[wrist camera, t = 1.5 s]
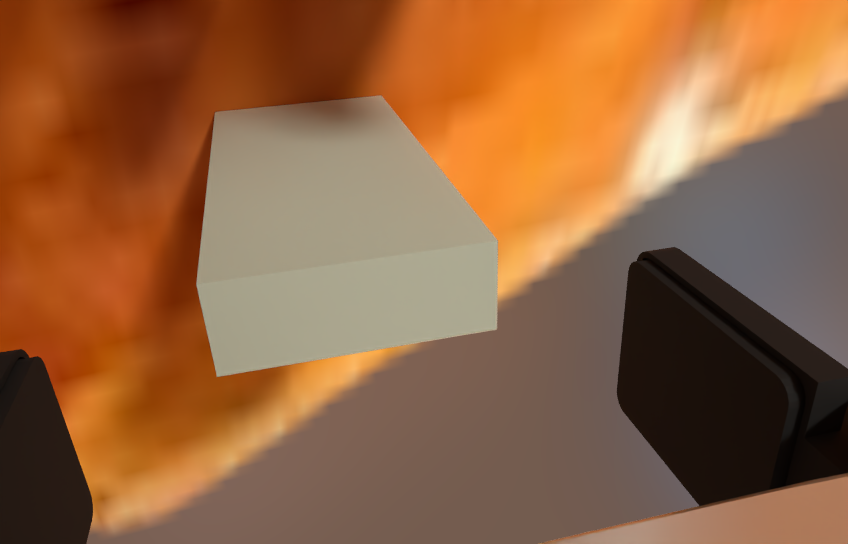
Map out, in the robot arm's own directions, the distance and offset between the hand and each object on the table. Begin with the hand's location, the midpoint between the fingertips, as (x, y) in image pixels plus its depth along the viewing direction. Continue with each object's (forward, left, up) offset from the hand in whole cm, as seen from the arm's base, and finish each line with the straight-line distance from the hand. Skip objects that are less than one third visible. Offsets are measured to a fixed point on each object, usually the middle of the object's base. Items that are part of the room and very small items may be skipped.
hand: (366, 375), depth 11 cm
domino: (0, 0, -12) cm, 12 cm away
